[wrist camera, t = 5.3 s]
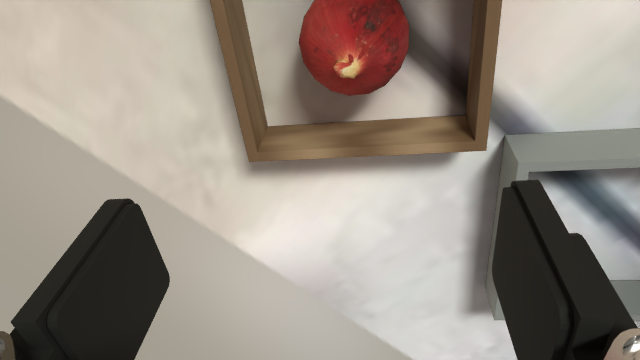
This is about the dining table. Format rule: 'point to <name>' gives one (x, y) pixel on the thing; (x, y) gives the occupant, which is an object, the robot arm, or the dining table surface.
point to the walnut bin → (359, 135)
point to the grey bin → (559, 156)
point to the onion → (354, 43)
